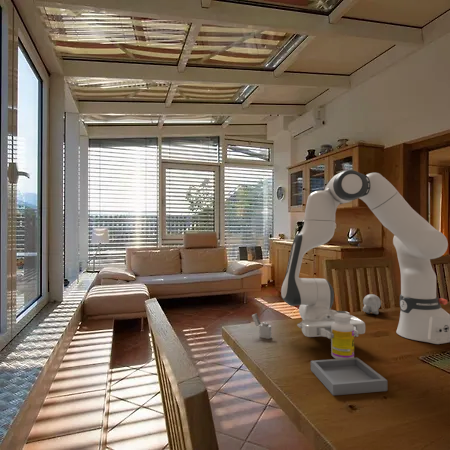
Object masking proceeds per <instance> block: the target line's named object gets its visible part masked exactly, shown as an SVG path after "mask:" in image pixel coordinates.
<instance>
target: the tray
mask: <svg viewBox="0 0 450 450" xmlns="http://www.w3.org/2000/svg"><path fill="white" fill-rule="evenodd" d="M310 371H311V372H312V374H314V375H315V377H316V378H317V379H318V380H319V382H321V383H322V384H323V386H324V387H325V388H326V389H327V391H329V393H330V394H331V395H332V396H343V395H354V394H365V393H368V394H369V393H378V392H379V393H380V392H387V391H388V379H386V378H385V377H384V376H383V375H381V374H380V373H378V372H377V371H376V370H374V368H372V367H371V366H370V365H368V364H367V363H366V362H364V361H363V360H361V359H360V358H359V357H354V358H344V359H335V358H333V359H332V358H331V359H319V360H318V359H317V360H310Z"/></svg>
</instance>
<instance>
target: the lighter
mask: <svg viewBox="0 0 450 450" xmlns="http://www.w3.org/2000/svg"><path fill="white" fill-rule="evenodd" d="M251 318H252V319H253V320H252V321H253V323H254V325H255V326H256V327H258V326H259V327H258V331H259V333H258V337H259V338H263V339H267V340H270V339H272V325H269V322H265V321H263V322H262V323H261V320H260V318H259V316H258V313H254V314H251Z"/></svg>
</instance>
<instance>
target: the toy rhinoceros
mask: <svg viewBox="0 0 450 450" xmlns="http://www.w3.org/2000/svg"><path fill="white" fill-rule="evenodd" d="M362 302H363V304H362V305H363V307H362V311H363V312H364V313H365V312H366V313H365V314H372V315H379V309H380V307H381V306H382V305H381V304H382V301H381V299H380V297H379V296H377V295H376V294H374V293H373V294H372V293H371V294H370V293H369V294H367V295H365V296H364V298H363V300H362Z"/></svg>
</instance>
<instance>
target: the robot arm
mask: <svg viewBox="0 0 450 450" xmlns="http://www.w3.org/2000/svg"><path fill="white" fill-rule="evenodd" d="M357 199H359V200H361V201H362V202H363V203H365V204H366V206H367V207H368V209H369V210H370V211H371V212H372V213H373V214H374V216H375V217H376V218H377V219H378V222H380V223H381V224H382V226H383V227H384V228H385V229H387V230H388V231H389V232H390V233H392V234H393V239H392V244H393V246H394V248H395V250H396V255H397V261H398V265H399V270H400V294H399V309H400V313H399V321H398V324H397V329H396V331H395V332H396V334H397V335H399V336H400V337H402V338H405V339H409V340H412V341H419V342H424V343H430V344H434V345H440V344H441V345H442V344H447V343H450V313H448V312H447V311H446V310H445V309H444V308H442V305H443V306H446V305H447V303H448V299H445V298H443V297H441V298H439V297H437V275H436V272H435V270H434V269H433V266H432V263H431V260H435V259H438V258H440V257H442V256H443V255H444V254H445V253H446V252H447V250H448V248H449V247H448V246H449V243H448V238H447V237H446V236H445V234H444V233H443V232H441V231H439V229H436V228H435V227H434V226H433V225H432V224H431V223H429V221H428V220H426V219H425V217H422V216H421V215H420V214H419V213H418V212H417V211H416V210H415V209H413V207H411V205H410V204H409V203H408V202H407V201H406V200H405V198H404V196H402V195H401V193H400V192H399V191H398V190H397V188H396V187H395V186H394V185H393V184H392V183H391V182H390V181H389V180H388V179H386V177H385V176H383V175H382V174H381V173H379V172H370V173H367V174H366V175H365V174H364V173H361V172H359V171H356V170H352V169H346V170H343V171H341V172H339V173H337V174H335V175H334V176H333V177H332V178H331V179H329V181H328V182H326V184H325V186H324V187H323V189H322V190H315V191H313V192H311V193H310V194H309V195H308V196H307V199H306V200H307V201H306V205H305V210H304V221H303V226H302V228H301V230H300V232H299V233H297V234H296V235H295V237H294V238H293V241H292V244H291V248H290V252H289V257H288V261H287V267H286V271H285V275H284V277H283V282H282V284H281V289H280V293H281V295H280V297H281V298H282V300H283V301H284V302H285V303H286V304H287V305H289V306H291V307H294V306H299V307H298V313H299V316H300V318H301V321H300V322H299V323H297V324H296V326H297V327H298V328H300V329H301V332H302V334H303V335H304V336H305V337H308V338H315V337H317V338H318V337H319V338H320V337H323V338H327V339H329V340H331V338H334V336H333V335H334V333H333V332H332V331H331V325H332V323H333V322H335V319H334V315H335V314H337V313H343V314H348V315H350V317H351V320H350V323H351V324H352V325H353V327H354V338H358V337H359V335H364V334H365V333H366V323H365V322H364V321H363V320H362V319H360V318H359V317H357V316H354V315H352V314H350V312H348V311H345V310H334V309H332V306H333V304H334V301H335V300H334V299H335V291H334V288H333V286H332V285H331V283H330V281H328V280H327V278H319V277H317V278H316V277H312V278H311V277H310V278H309V277H300V271H301V268H302V267H301V266H302V264H303V259H304V255H305V254H306V253H307V252H309V251H310V250H312V249H314V248H317V247H321V246H323V245H325V244H327V243H328V242H330V240H332V239H333V237H334V234H335V231H336V212H337V209H338V206H339V205H343V204H346V203H347V204H349V203H351V202H352V201H355V200H357ZM441 304H442V305H441Z"/></svg>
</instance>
